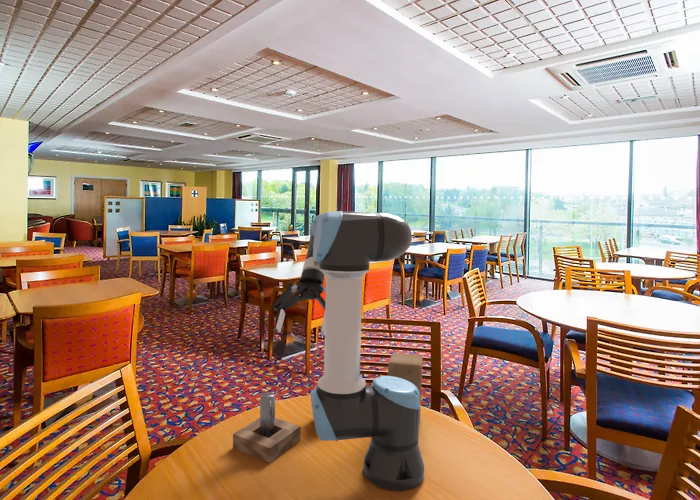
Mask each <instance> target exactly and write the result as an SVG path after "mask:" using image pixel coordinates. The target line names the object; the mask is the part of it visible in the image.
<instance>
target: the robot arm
mask: <svg viewBox="0 0 700 500" xmlns="http://www.w3.org/2000/svg"><path fill="white" fill-rule="evenodd" d="M309 234H310V235H309V240H308V247H307V251H306V256H305V260H304V262H303V263H304V264H303V267H302V272H301V275H300V279H299V283H298V284H297V285H295V284H293V283H292V282H290V283H289V284H288V286H287V287H286V289H285V291H284V292H283V293H282V294H281V295H280V296H279V297H278V299H277V300H276V301H275V302H274V303H273V304H272V307H273V310H274V312H276V316H275V320H276V326H275V329H276V332H277V333H281V331H282V328H283V323H284V320H285V317H286V311H287V310H288V309H289V308H291V307H292V306H293V305H295V304H296V303H297V302H300V301H301V300H310V301H314V300H316V301H317V302H318V304H320V306H321V307H322V308H323V310H324V313H323V318H322V324H321V330H320V332H321V336H322V337H323V336H324V355H323V356H324V359H323V362H324V364H323V367H324V368H323V375H322V376H321V377H320V378H319V379H318V380H317V385H318V387H317V389H311V390H310V402H311V410H312V416H313V417H312V418H313V423H314V427H315V432H316V435H317V437H318V438H319V439H320V440H321V441H323V442H324V441H326V442H327V441H330V442H331V441H335V442H338V441H343V440H354V439H362V438H363V439H365V438H371V440H370V442H369V445H368V447H367V450H366V453H365V456H364V457H363V468H362V469H363V474H364V476H365V478H366V479H367V480H368V481H369V483H371V484H372V485H374V486H376V487H378V488H381V489H384V490H387V491H395V492H396V491H397V492H401V491H403V492H404V491H409V490H412V489H414V488H417V487H418V486H419V485H420V484H421V483H422V482H423V480H424V478H425V463H424V460H423V457H422V453H421V449H420V445H419V433H420V432H419V431H420V423H419V415H420V416H421V409H420V407H421V406H422V405H420V393H419V390H418V388H417V387H416V386H415V385H414V384H413V383H411V382H409V381H407V380H405V379H402V378H398V377H393V376H388V375H381V376H380V375H379V376H377V377H375V378H374V379H373V381H372V384H371V385H367V383H366V380H365V379H364V378H363V377H362V376H361V349H362V348H361V345H362V343H361V342H362V340H361V339H362V306H363V305H362V304H363V303H362V301H363V277H364V276H365V275H366V274H367V273H368V272H370V263H372V262H373V263H375V262H376V263H377V262H381V263H382V262H388V261H392V260H395V259H397V258H399V257H401V256H402V255H404V254H405V253H407V250H408V249H409V248H410V246H411V244H412V237H413V236H412V230H411V228H410V226H409V224H408V222H406V220H404V219H402V218H401V217H400V216H398V215H395V214H391V213H388V212H369V211H368V212H367V211H366V212H365V211H343V210H338V211H325V212H323V213H320V214H318V215H317V216H315V217H314V218H313V219H312V222H311V225H310V233H309ZM324 281H325V286H324ZM323 292H324V294H325V298H323V296H321V294H322V293H323ZM293 293H294V294H293ZM421 408H422V407H421Z"/></svg>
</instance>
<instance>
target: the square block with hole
mask: <svg viewBox="0 0 700 500" xmlns="http://www.w3.org/2000/svg"><path fill="white" fill-rule="evenodd" d="M299 441H301V425H297V424H295V423H293V422H289V421H286V420H284V419H279V418H278V417H275V434H274V435H272V436H271V437H270V438H267V437H264V436H262V435H260V417H259V418H257V419H255V420H253V421H252V422H250V423H248V424H247V425H245V426H244V427H242V428H240V429H239V430H237V431H235V432H234V433H233V434H232V449H234V448H235V450H237V449H238V450H237V451H239V450H240V452H241V453H244V452H245V453H244V454H247V455H249V456H252V457H254V458H256V459H259V460H262V461H264V462H267V463H268V464H271V463H272V462H274V461H275V460H276V459H277V458H279V457H280V456H281V455H283V454H284V453H285V452H286V451H288V450H290V448H292V447H293V446H294V445H295V444H297V443H298V442H299Z"/></svg>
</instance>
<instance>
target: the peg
mask: <svg viewBox="0 0 700 500" xmlns="http://www.w3.org/2000/svg"><path fill="white" fill-rule="evenodd" d="M259 401H260V403H259V406H260V407H259V410H260V412H259V418H260V435H262V436H264V437H267V438H270V437H271V436H272V435H274V434H275V418H276V393H274V392H272V391H266V392H262V393H261V394H260V395H259Z"/></svg>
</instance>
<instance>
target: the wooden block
mask: <svg viewBox="0 0 700 500" xmlns="http://www.w3.org/2000/svg"><path fill="white" fill-rule="evenodd" d="M423 359H424V358H423V356H422V355H420V354H412V353H411V354H410V353H402V352H401V353H400V352H392V353H391V355H390V358H389V361H388V364H387V365H388V367H387V368H388V369H387V376H393V377H398V378H402V379H405V380H407V381H409V382H411V383H413V384H414V385H415V386H416V387H417V388H418V390H419V393H420V405H421V404H422V403H421V402H422V382H423V379H422V378H423ZM421 406H422V405H421ZM421 408H422V407H420V410H421ZM420 419H421V414H420V415H419V424H420V422H421V420H420Z"/></svg>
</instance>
